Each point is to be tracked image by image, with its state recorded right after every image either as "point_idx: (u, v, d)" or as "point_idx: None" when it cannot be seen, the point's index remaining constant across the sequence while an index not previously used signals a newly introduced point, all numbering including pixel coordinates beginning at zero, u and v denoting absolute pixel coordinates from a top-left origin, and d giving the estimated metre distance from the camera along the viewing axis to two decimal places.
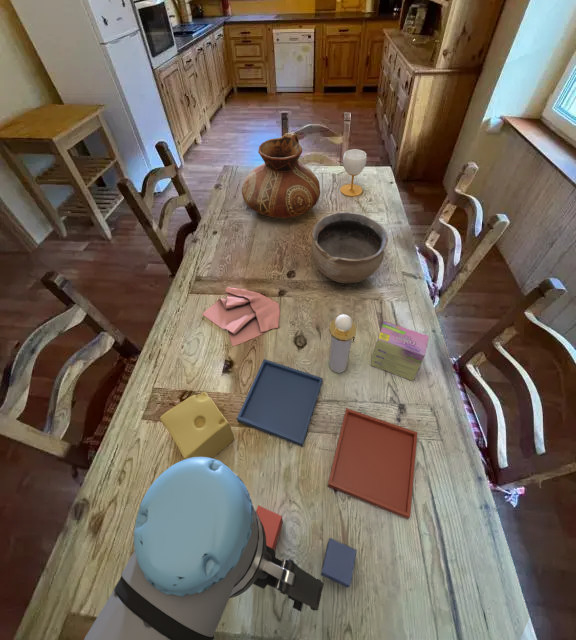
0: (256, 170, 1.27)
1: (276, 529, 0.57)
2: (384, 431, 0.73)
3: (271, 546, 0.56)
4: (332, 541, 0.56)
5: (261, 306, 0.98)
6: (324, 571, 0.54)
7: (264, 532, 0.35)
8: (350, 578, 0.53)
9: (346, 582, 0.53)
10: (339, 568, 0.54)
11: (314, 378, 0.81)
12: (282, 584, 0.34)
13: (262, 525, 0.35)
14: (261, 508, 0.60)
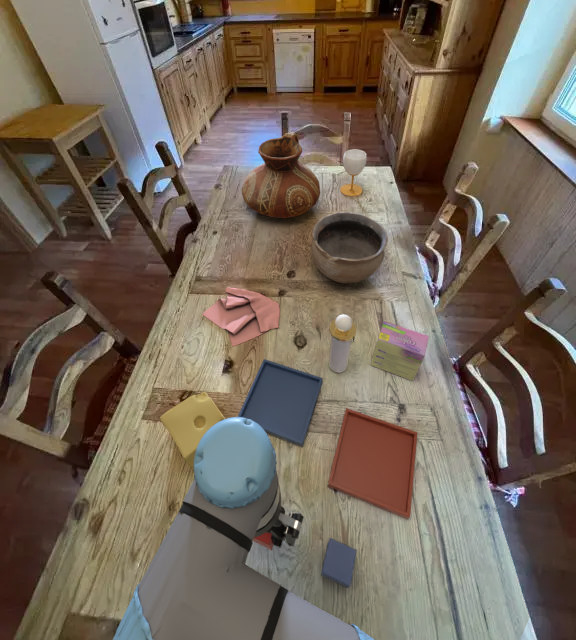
0: (256, 170, 1.27)
1: None
2: (384, 431, 0.73)
3: (268, 543, 0.52)
4: (332, 541, 0.56)
5: (261, 306, 0.98)
6: (324, 571, 0.54)
7: None
8: (350, 578, 0.53)
9: (346, 582, 0.53)
10: (339, 568, 0.54)
11: (314, 378, 0.81)
12: (295, 531, 0.44)
13: None
14: None
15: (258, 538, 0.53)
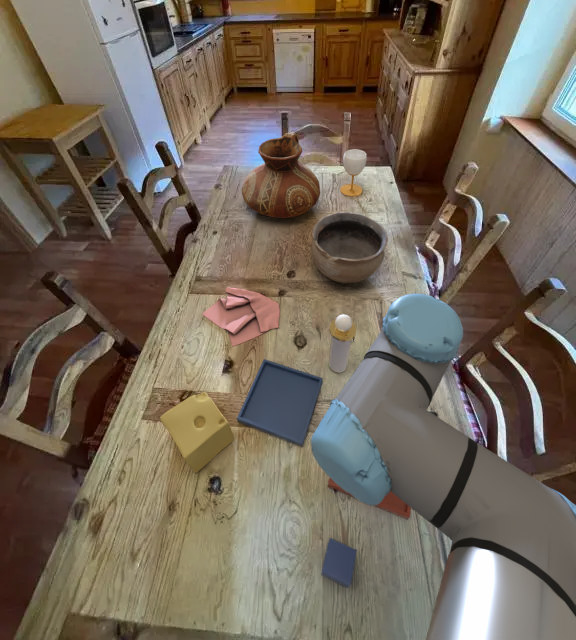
0: (256, 170, 1.27)
1: None
2: None
3: None
4: (332, 541, 0.56)
5: (261, 306, 0.98)
6: (324, 571, 0.54)
7: None
8: (350, 578, 0.53)
9: (346, 582, 0.53)
10: (339, 568, 0.54)
11: (314, 378, 0.81)
12: None
13: None
14: None
15: None
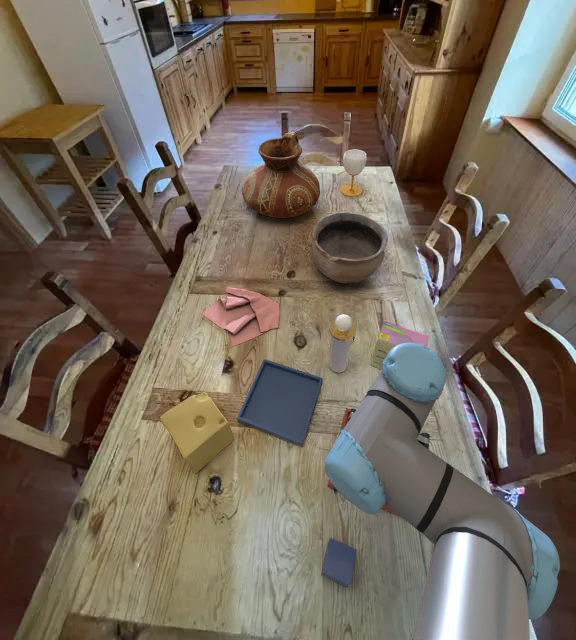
0: (256, 170, 1.27)
1: None
2: None
3: None
4: (332, 541, 0.56)
5: (261, 306, 0.97)
6: (324, 571, 0.54)
7: None
8: (350, 578, 0.53)
9: (346, 582, 0.53)
10: (339, 568, 0.54)
11: (314, 378, 0.81)
12: (426, 445, 0.55)
13: None
14: None
15: None
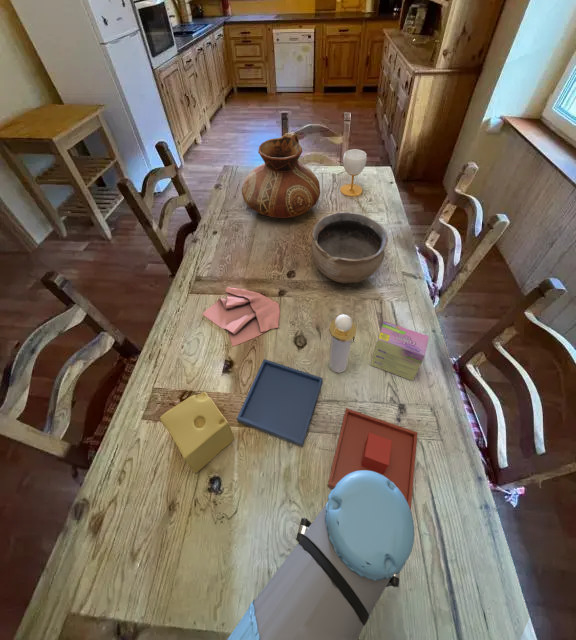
0: (256, 170, 1.27)
1: (389, 451, 0.65)
2: (384, 431, 0.73)
3: (387, 464, 0.63)
4: None
5: (261, 306, 0.98)
6: None
7: None
8: None
9: None
10: None
11: (314, 378, 0.81)
12: (395, 579, 0.42)
13: None
14: (372, 435, 0.67)
15: (378, 460, 0.64)
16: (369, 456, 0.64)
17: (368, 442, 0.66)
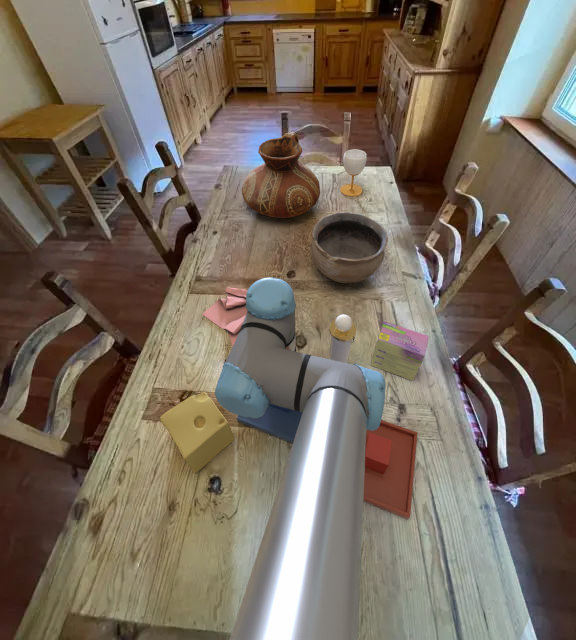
0: (256, 170, 1.27)
1: (389, 451, 0.65)
2: (384, 431, 0.73)
3: (387, 464, 0.63)
4: None
5: None
6: None
7: None
8: None
9: None
10: None
11: None
12: None
13: None
14: (372, 435, 0.67)
15: (378, 460, 0.64)
16: (369, 456, 0.64)
17: (368, 442, 0.66)
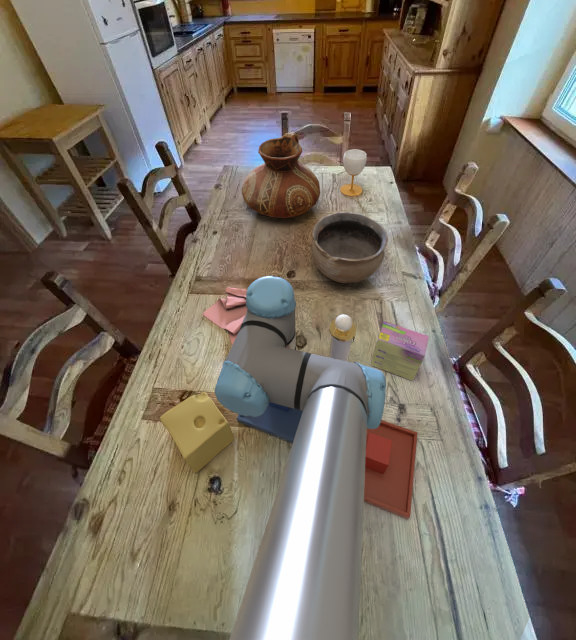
0: (256, 170, 1.27)
1: (389, 451, 0.65)
2: (384, 431, 0.73)
3: (387, 464, 0.63)
4: None
5: None
6: None
7: None
8: None
9: None
10: None
11: None
12: None
13: None
14: (372, 435, 0.67)
15: (378, 460, 0.64)
16: (369, 456, 0.64)
17: (368, 442, 0.66)
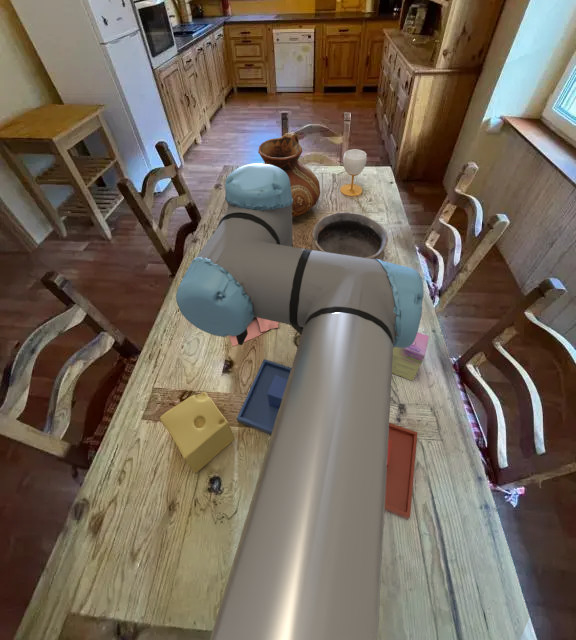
0: None
1: (389, 451, 0.65)
2: None
3: (387, 464, 0.63)
4: (276, 377, 0.76)
5: None
6: (268, 393, 0.74)
7: None
8: None
9: None
10: (280, 391, 0.74)
11: None
12: None
13: None
14: None
15: None
16: None
17: None
